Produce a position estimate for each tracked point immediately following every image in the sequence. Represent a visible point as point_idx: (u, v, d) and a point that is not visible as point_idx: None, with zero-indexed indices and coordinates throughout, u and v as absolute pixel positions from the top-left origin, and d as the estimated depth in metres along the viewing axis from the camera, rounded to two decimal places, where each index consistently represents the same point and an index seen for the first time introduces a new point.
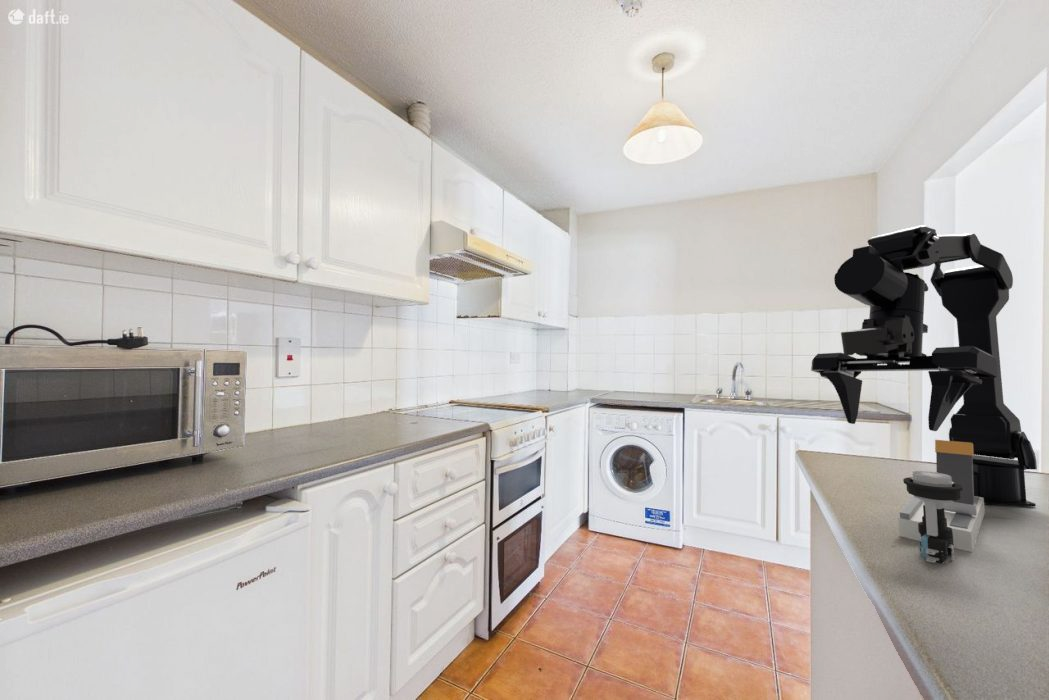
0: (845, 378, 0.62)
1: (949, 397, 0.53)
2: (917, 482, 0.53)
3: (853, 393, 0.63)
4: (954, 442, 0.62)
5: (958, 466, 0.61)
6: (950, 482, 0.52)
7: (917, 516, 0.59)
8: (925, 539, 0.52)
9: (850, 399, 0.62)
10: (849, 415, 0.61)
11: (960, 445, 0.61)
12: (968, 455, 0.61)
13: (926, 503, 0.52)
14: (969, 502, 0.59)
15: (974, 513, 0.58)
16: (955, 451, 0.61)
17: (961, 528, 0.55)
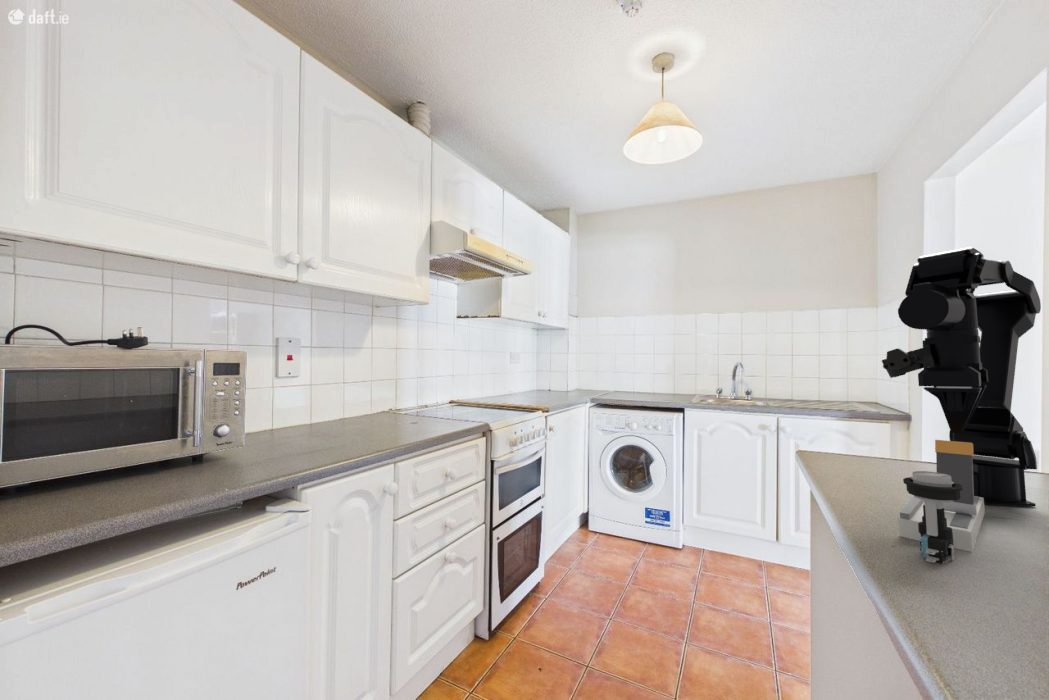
0: None
1: (958, 405, 0.63)
2: (917, 482, 0.53)
3: None
4: (954, 442, 0.62)
5: (958, 466, 0.61)
6: (950, 482, 0.52)
7: (917, 516, 0.59)
8: (925, 539, 0.52)
9: None
10: None
11: (960, 445, 0.61)
12: (968, 455, 0.61)
13: (926, 503, 0.52)
14: (969, 502, 0.59)
15: (974, 513, 0.58)
16: (955, 451, 0.61)
17: (961, 528, 0.55)
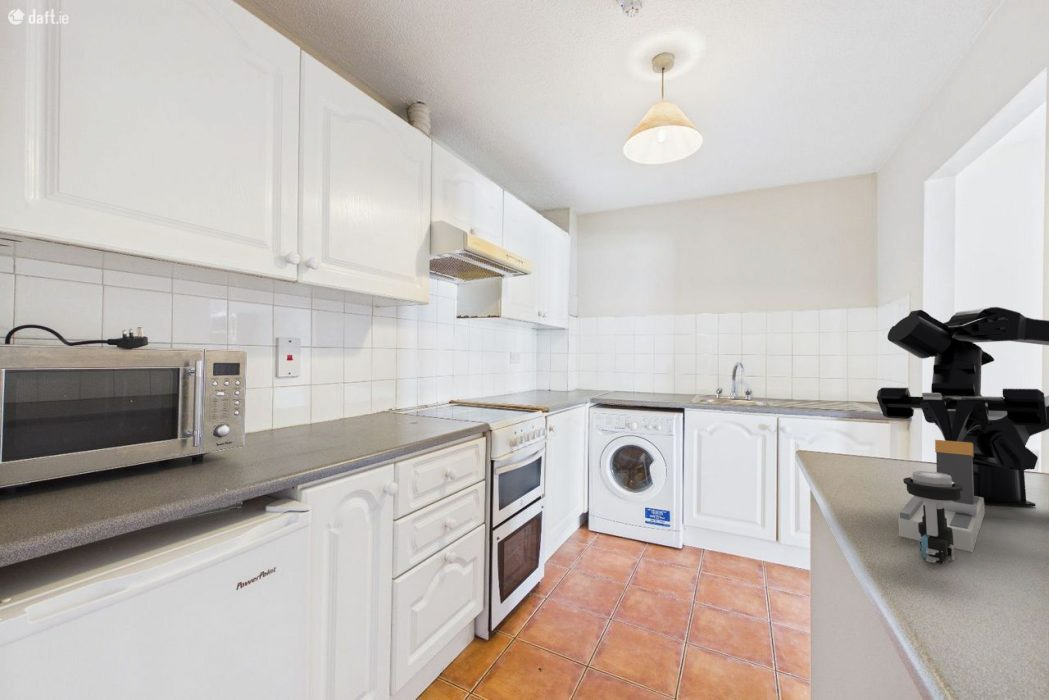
0: None
1: None
2: (917, 482, 0.53)
3: None
4: (954, 442, 0.62)
5: (958, 466, 0.61)
6: (950, 482, 0.52)
7: (917, 516, 0.59)
8: (925, 539, 0.52)
9: None
10: None
11: (960, 445, 0.61)
12: (968, 455, 0.61)
13: (926, 503, 0.52)
14: (969, 502, 0.59)
15: (974, 513, 0.58)
16: (955, 451, 0.61)
17: (961, 528, 0.55)
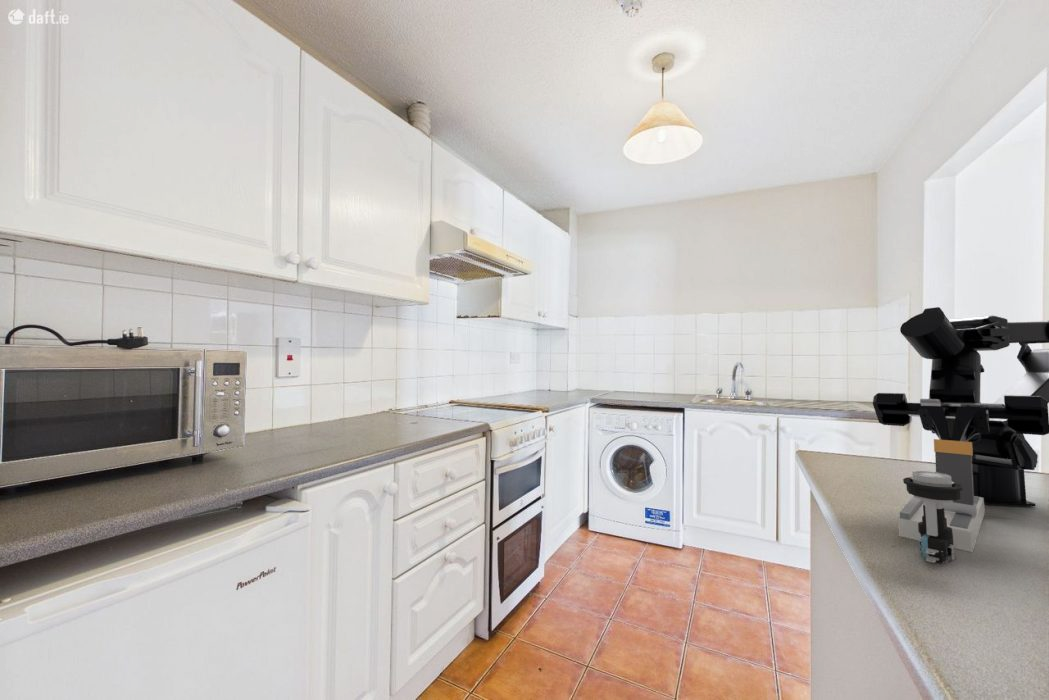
0: None
1: None
2: (917, 482, 0.53)
3: None
4: (953, 441, 0.61)
5: (957, 466, 0.60)
6: (950, 482, 0.52)
7: (917, 516, 0.59)
8: (925, 539, 0.52)
9: None
10: None
11: (959, 444, 0.61)
12: (967, 454, 0.60)
13: (926, 503, 0.52)
14: (969, 503, 0.59)
15: (974, 514, 0.58)
16: (954, 451, 0.61)
17: (961, 528, 0.55)
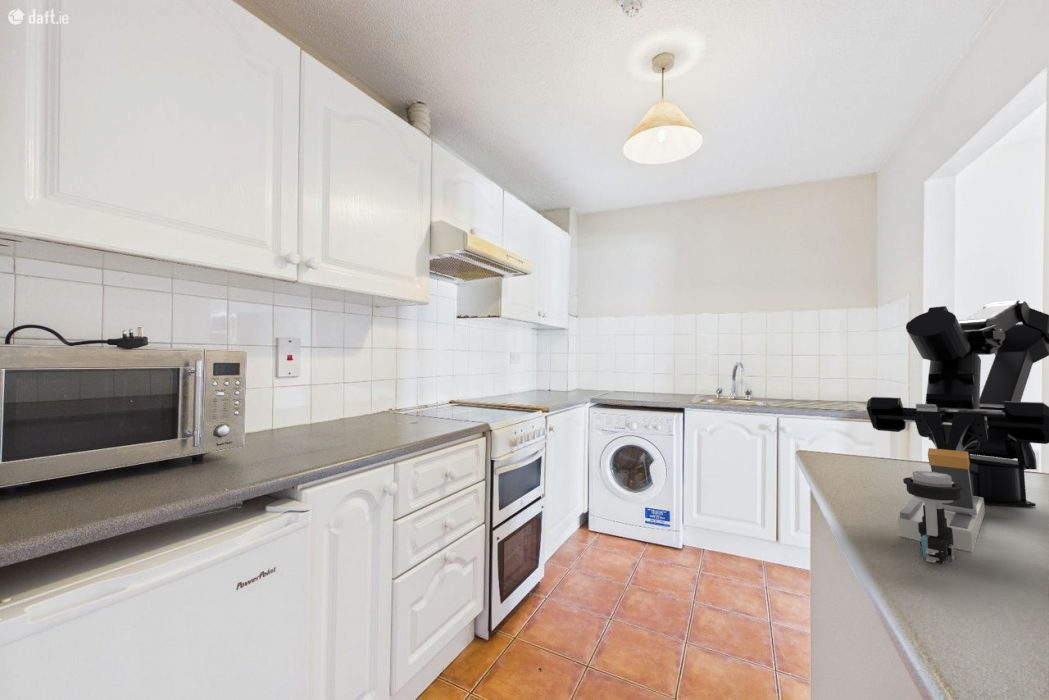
0: None
1: None
2: (917, 482, 0.53)
3: None
4: (948, 457, 0.57)
5: (955, 477, 0.58)
6: (950, 482, 0.52)
7: (917, 516, 0.59)
8: (925, 539, 0.52)
9: None
10: None
11: (955, 460, 0.57)
12: (964, 467, 0.57)
13: (926, 503, 0.52)
14: (969, 507, 0.58)
15: (975, 515, 0.58)
16: (950, 465, 0.57)
17: (961, 528, 0.55)
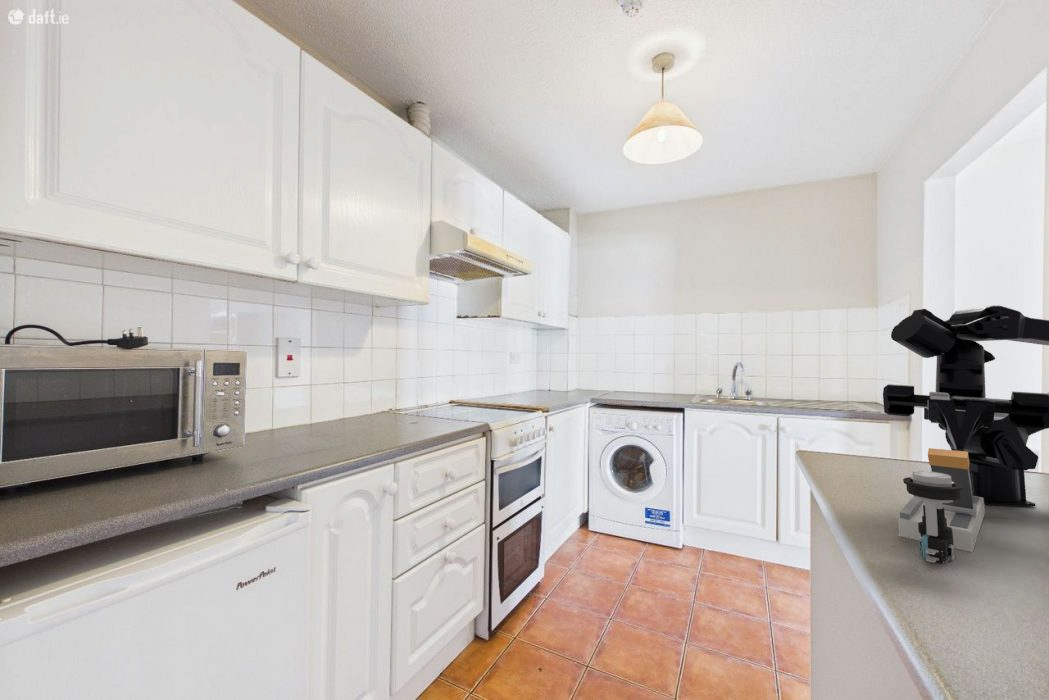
0: None
1: None
2: (917, 482, 0.53)
3: None
4: (948, 457, 0.57)
5: (955, 477, 0.58)
6: (950, 482, 0.52)
7: (917, 516, 0.59)
8: (925, 539, 0.52)
9: None
10: None
11: (955, 460, 0.57)
12: (964, 467, 0.57)
13: (926, 503, 0.52)
14: (969, 507, 0.58)
15: (975, 515, 0.58)
16: (950, 465, 0.57)
17: (961, 528, 0.55)
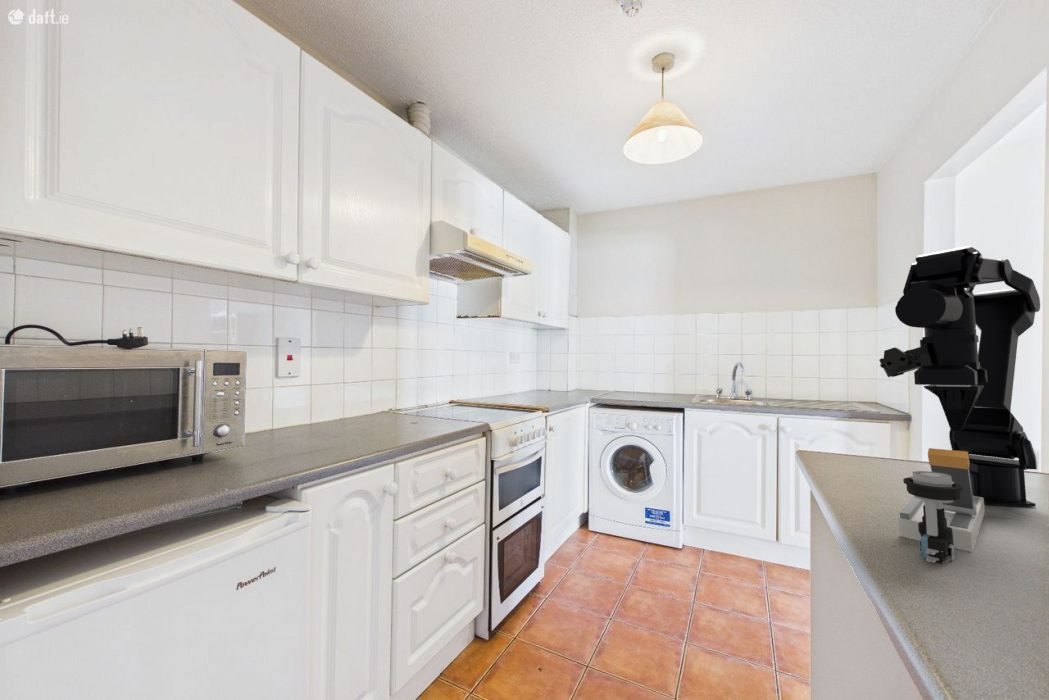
0: None
1: (958, 403, 0.65)
2: (917, 482, 0.53)
3: None
4: (948, 457, 0.57)
5: (955, 477, 0.58)
6: (950, 482, 0.52)
7: (917, 516, 0.59)
8: (925, 539, 0.52)
9: None
10: None
11: (955, 460, 0.57)
12: (964, 467, 0.57)
13: (926, 503, 0.52)
14: (969, 507, 0.58)
15: (975, 515, 0.58)
16: (950, 465, 0.57)
17: (961, 528, 0.55)
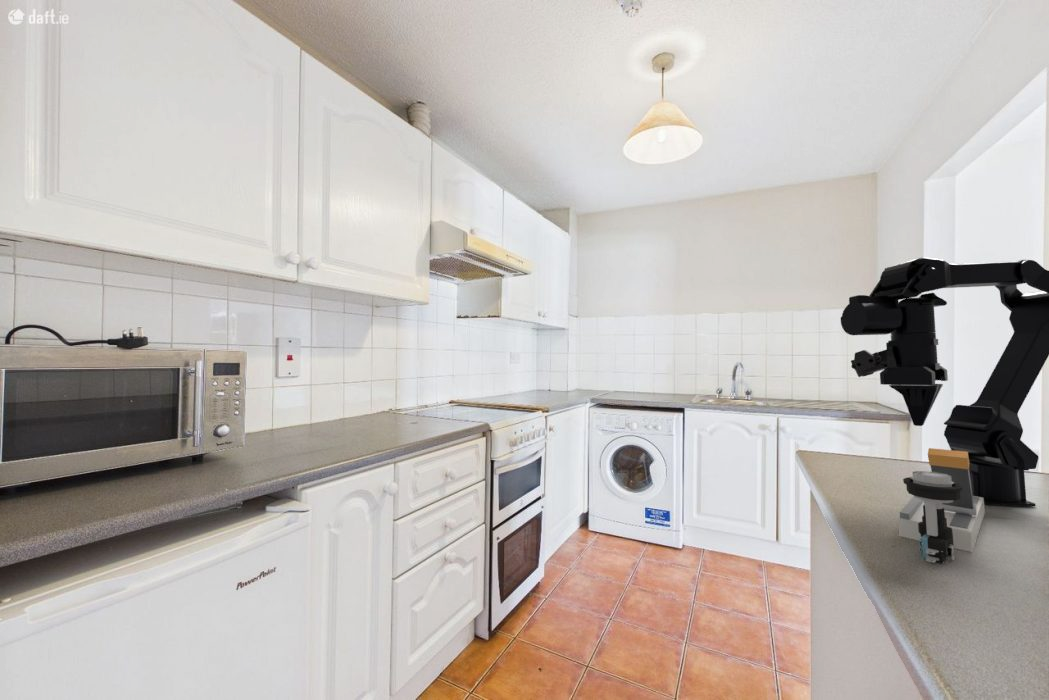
0: None
1: (919, 400, 0.71)
2: (917, 482, 0.53)
3: None
4: (948, 457, 0.57)
5: (955, 477, 0.58)
6: (950, 482, 0.52)
7: (917, 516, 0.59)
8: (925, 539, 0.52)
9: None
10: None
11: (955, 460, 0.57)
12: (964, 467, 0.57)
13: (926, 503, 0.52)
14: (969, 507, 0.58)
15: (975, 515, 0.58)
16: (950, 465, 0.57)
17: (961, 528, 0.55)
